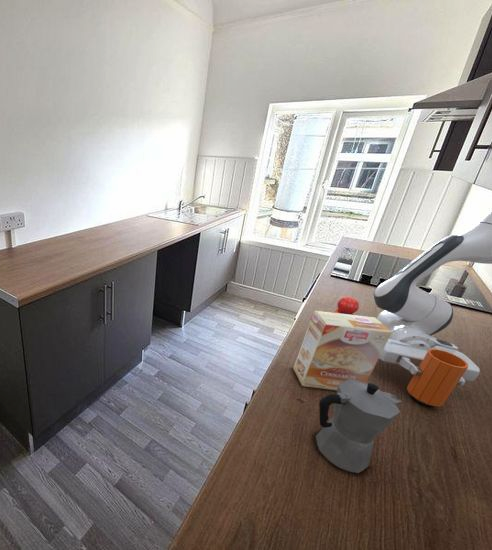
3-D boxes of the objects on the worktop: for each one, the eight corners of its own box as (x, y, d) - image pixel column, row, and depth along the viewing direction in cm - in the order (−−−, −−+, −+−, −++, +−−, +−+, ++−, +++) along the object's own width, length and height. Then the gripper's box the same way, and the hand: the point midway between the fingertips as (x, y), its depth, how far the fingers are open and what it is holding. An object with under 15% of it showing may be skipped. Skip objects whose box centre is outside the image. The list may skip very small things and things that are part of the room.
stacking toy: (309, 344, 96) (328, 292, 88) (326, 339, 98) (346, 289, 91) (332, 359, 89) (354, 305, 82) (350, 354, 92) (373, 301, 84)
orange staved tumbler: (450, 404, 73) (476, 366, 68) (429, 408, 71) (454, 369, 66) (420, 384, 79) (441, 347, 74) (400, 387, 77) (421, 350, 73)
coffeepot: (353, 431, 66) (385, 367, 59) (389, 474, 57) (432, 405, 50) (287, 431, 65) (311, 367, 58) (314, 475, 56) (347, 406, 49)
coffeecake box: (302, 386, 78) (325, 324, 70) (291, 368, 84) (312, 309, 77) (362, 395, 76) (394, 331, 68) (347, 375, 83) (374, 316, 75)
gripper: (372, 327, 86) (392, 356, 74) (463, 346, 79) (501, 380, 67) (364, 345, 88) (382, 375, 76) (451, 365, 82) (486, 401, 70)
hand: (438, 378), depth 72 cm, fingers closed on orange staved tumbler, 7 cm apart
